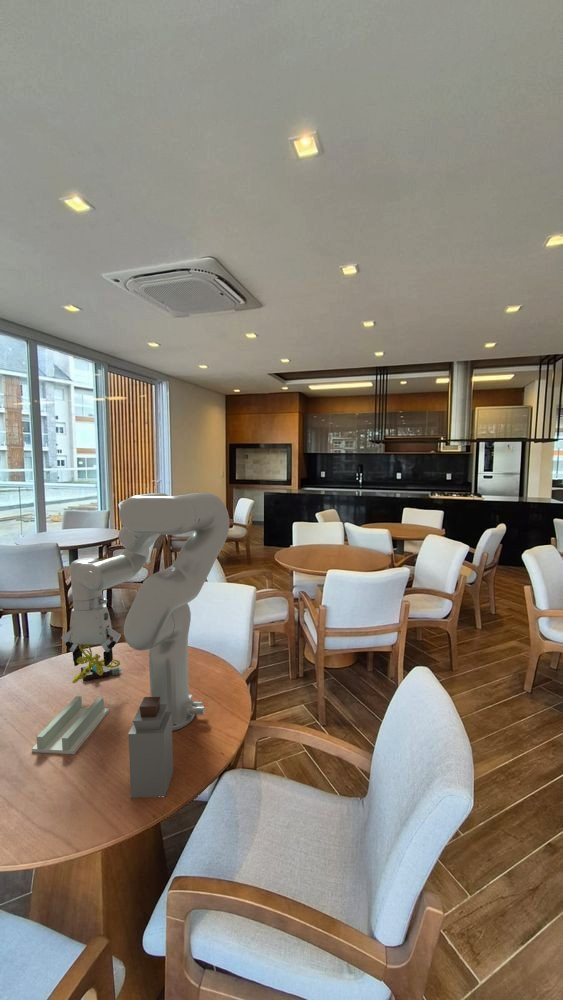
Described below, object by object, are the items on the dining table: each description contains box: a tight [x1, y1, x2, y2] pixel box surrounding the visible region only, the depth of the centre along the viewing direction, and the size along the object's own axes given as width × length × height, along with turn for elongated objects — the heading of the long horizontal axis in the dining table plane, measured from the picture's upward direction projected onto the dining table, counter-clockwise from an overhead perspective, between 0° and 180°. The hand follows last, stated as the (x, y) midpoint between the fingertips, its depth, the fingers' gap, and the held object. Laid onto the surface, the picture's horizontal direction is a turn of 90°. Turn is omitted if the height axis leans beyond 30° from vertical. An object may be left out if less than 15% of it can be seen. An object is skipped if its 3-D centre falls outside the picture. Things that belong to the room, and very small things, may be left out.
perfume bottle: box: [127, 696, 174, 799], centre depth 84 cm, size 7×7×18 cm
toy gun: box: [80, 662, 123, 682], centre depth 130 cm, size 10×12×5 cm
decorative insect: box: [72, 644, 121, 684], centre depth 116 cm, size 13×3×10 cm
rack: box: [31, 695, 110, 755], centre depth 102 cm, size 10×16×4 cm, turn 176°
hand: (93, 663), depth 117 cm, fingers closed on decorative insect, 8 cm apart
